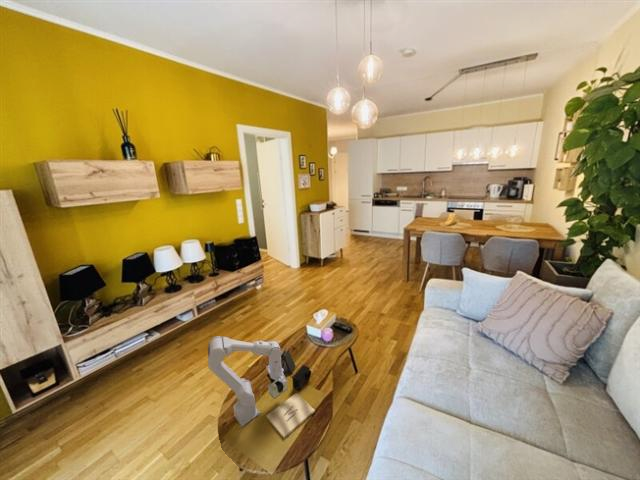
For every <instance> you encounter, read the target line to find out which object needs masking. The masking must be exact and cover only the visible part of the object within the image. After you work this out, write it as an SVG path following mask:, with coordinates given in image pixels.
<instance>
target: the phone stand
mask: <svg viewBox="0 0 640 480" xmlns="http://www.w3.org/2000/svg"><path fill="white" fill-rule="evenodd" d="M290 351H291V350H290V349H289V348H287V347H286V348H285V349H284V350H283V352H282V353H281V355H280V356H281V364H282V368H283V369H284V371H283V374H287V375H288V374H289V375H293V373H294V372H295V371H294V370H295V369H296V367H297V366H296V364H295V362H294V360H293V357H292V355H291V352H290Z"/></svg>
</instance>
